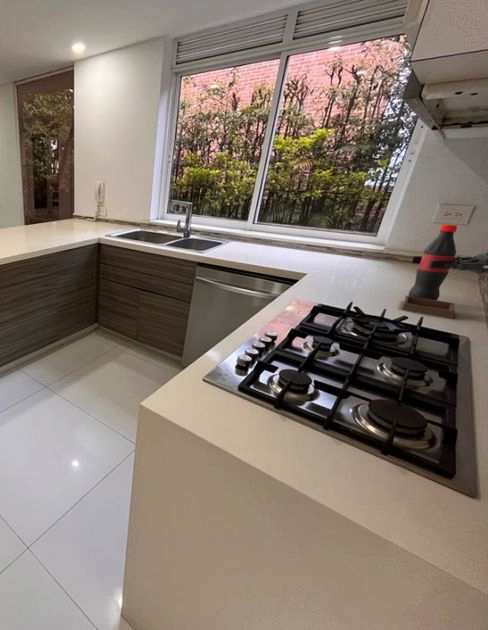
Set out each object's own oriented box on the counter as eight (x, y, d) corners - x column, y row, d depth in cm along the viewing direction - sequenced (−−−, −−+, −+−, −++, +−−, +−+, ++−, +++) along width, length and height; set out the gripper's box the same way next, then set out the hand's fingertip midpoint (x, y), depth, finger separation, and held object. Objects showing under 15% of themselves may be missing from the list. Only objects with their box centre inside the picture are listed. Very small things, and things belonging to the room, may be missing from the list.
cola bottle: (435, 301, 135) (465, 224, 124) (436, 306, 129) (468, 226, 119) (406, 297, 140) (433, 223, 130) (406, 302, 135) (434, 224, 124)
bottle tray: (450, 321, 115) (455, 311, 114) (400, 312, 124) (404, 303, 123) (450, 312, 124) (453, 303, 122) (403, 304, 132) (406, 295, 131)
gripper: (516, 280, 118) (440, 278, 122) (462, 267, 137) (398, 265, 141) (526, 259, 115) (449, 257, 119) (469, 248, 135) (404, 247, 138)
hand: (421, 261), depth 130 cm, fingers closed on cola bottle, 8 cm apart
